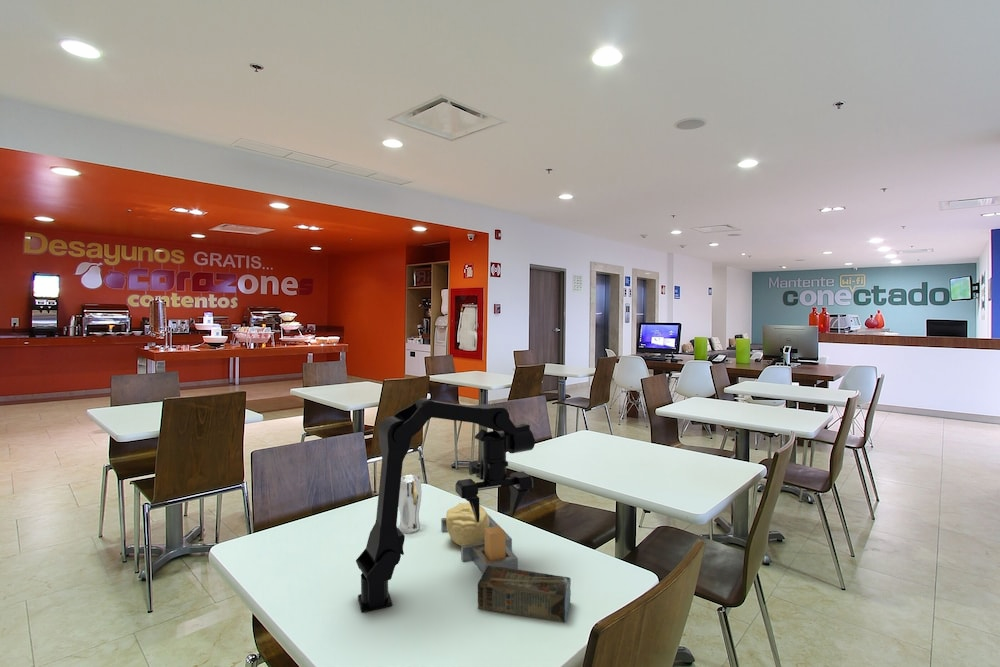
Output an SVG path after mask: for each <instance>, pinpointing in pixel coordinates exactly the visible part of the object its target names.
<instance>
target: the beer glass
mask: <svg viewBox="0 0 1000 667" xmlns="http://www.w3.org/2000/svg"><path fill="white" fill-rule="evenodd" d="M421 481H422V480H421V476H420V475H417V474H404V475H401V485H400V495H399V505H398V512H399V517H400V521H399V526H398V529H399V530H400V531H401V532H402V533H403V534H414V533H417V532H418V531H421V530H420V529H421V524H420V517H419V516H420V508H421V502H422V482H421Z"/></svg>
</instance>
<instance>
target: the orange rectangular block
mask: <svg viewBox="0 0 1000 667" xmlns="http://www.w3.org/2000/svg"><path fill="white" fill-rule="evenodd" d="M484 529H485V540H484V541H485V557H486V558H487V559H488V560H489V561H490V560H495V559H500V558H505V557H506V549H505V532H506V531H505V530H504V528H502V527H501V526H500V525H499V526H495V527H489V528H484Z"/></svg>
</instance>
